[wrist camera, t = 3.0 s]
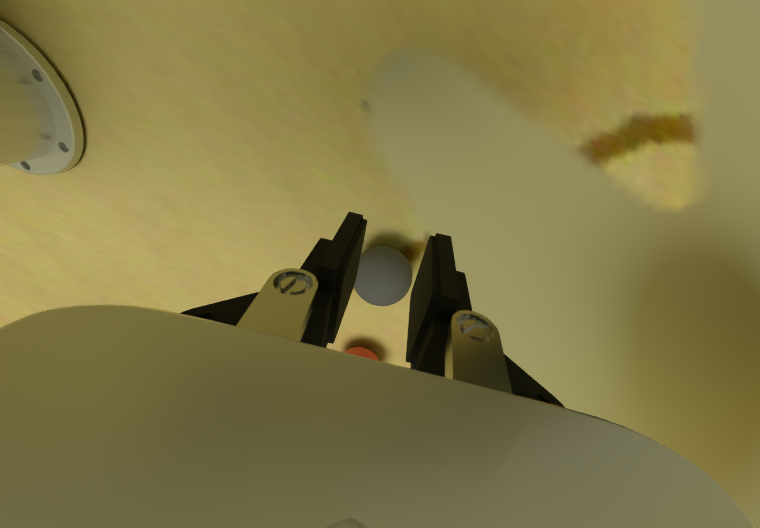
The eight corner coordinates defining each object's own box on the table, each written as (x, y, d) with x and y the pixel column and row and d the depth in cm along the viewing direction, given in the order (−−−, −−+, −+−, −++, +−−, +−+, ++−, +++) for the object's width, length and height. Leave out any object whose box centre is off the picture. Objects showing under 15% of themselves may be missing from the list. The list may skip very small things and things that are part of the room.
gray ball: (363, 229, 28) (351, 259, 24) (419, 243, 28) (418, 275, 24) (354, 275, 31) (341, 310, 27) (405, 288, 31) (402, 325, 26)
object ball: (343, 332, 36) (331, 370, 31) (388, 343, 36) (382, 382, 31) (338, 361, 39) (326, 400, 34) (379, 372, 39) (372, 411, 34)
